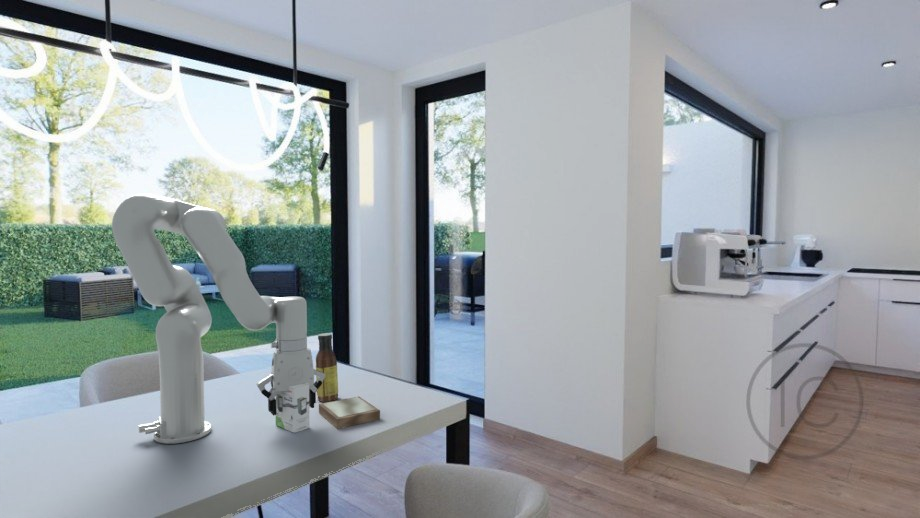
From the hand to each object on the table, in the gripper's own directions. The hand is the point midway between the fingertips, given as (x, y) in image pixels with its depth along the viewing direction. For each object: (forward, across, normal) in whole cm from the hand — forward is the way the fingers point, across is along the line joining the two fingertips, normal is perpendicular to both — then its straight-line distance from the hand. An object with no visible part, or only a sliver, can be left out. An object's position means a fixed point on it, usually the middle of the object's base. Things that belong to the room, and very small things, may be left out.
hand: (292, 410), depth 131 cm
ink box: (+5, 0, 0) cm, 5 cm away
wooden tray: (+4, +15, -1) cm, 16 cm away
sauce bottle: (+5, +15, +16) cm, 22 cm away
